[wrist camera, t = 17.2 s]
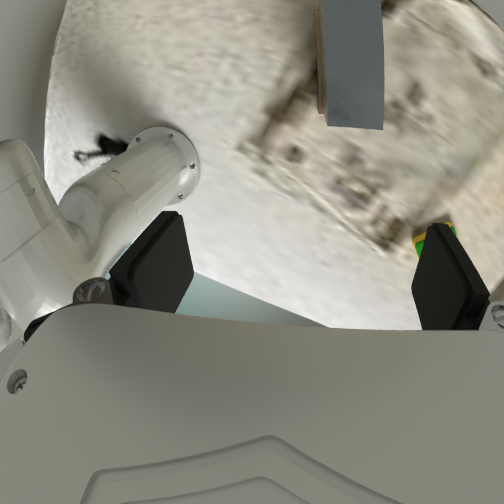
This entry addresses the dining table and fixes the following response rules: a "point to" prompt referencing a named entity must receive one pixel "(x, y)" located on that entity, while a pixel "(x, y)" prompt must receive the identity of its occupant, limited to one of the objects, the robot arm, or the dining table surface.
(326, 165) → the dining table surface
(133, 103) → the dining table surface
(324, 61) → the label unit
